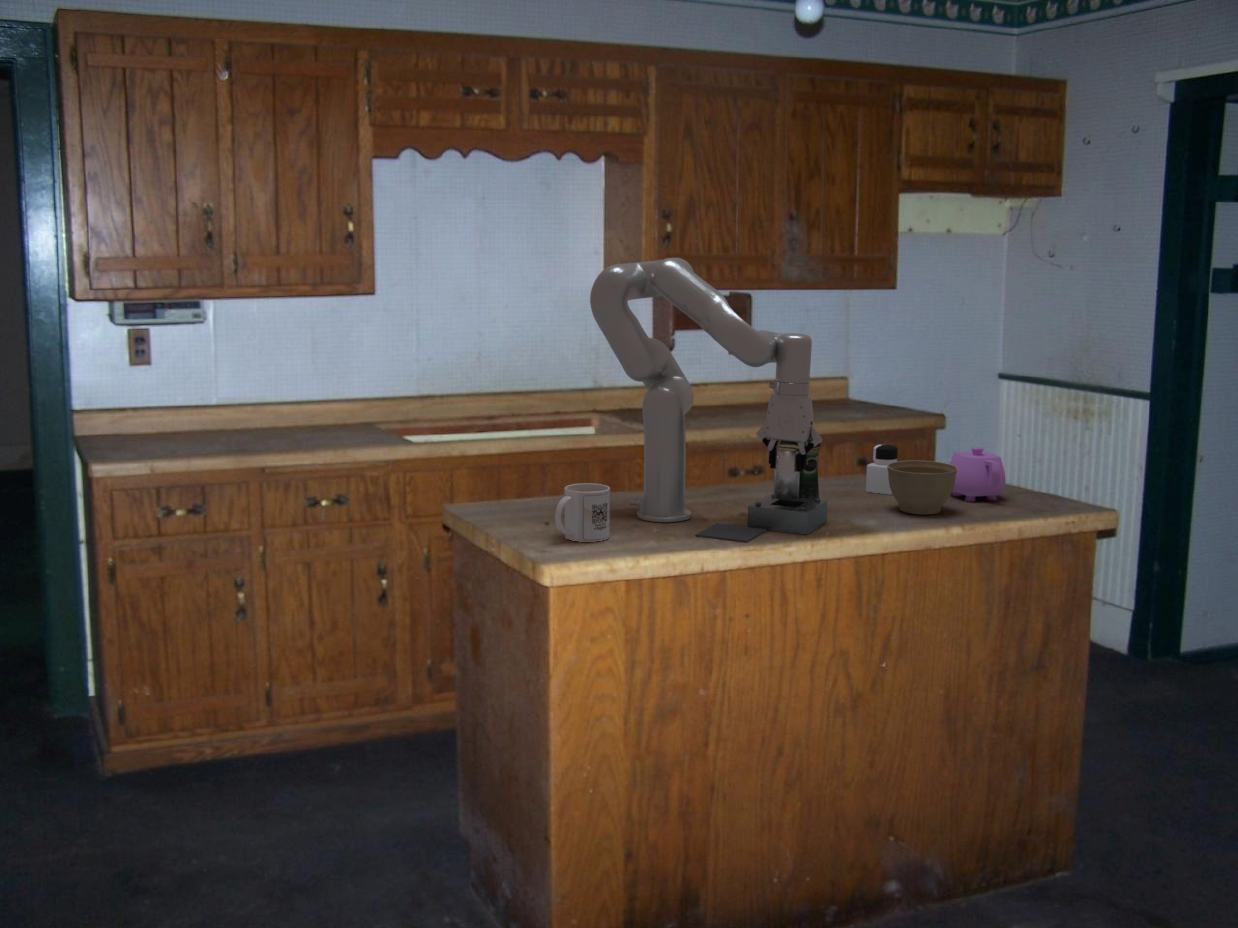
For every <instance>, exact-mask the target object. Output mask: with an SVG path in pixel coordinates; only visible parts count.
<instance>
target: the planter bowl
mask: <svg viewBox="0 0 1238 928" xmlns="http://www.w3.org/2000/svg"><path fill="white" fill-rule="evenodd" d="M887 469H888V479H889V485H890V489H891V491H892V493H893V495H892V496H893V497H894V499H895V500H896V502H897V503H898V506H899V510H900V511H901V512H903V513H907V514H913V515H921V516H924V515H925V516H926V515H936V514H939V513H940V512H941V511H942V508H943V506H944V504H945V503H946V502H947V501H948V499H949V498H950V496H951V495H952V492H953V491H952V490H953V487H954V484H955V478H956V473H957V467H955V466H953V465H950V463H945V462H940V461H932V460H915V459H914V460H899V461H898V460H897V462H893V463H890V464H888V465H887Z"/></svg>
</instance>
